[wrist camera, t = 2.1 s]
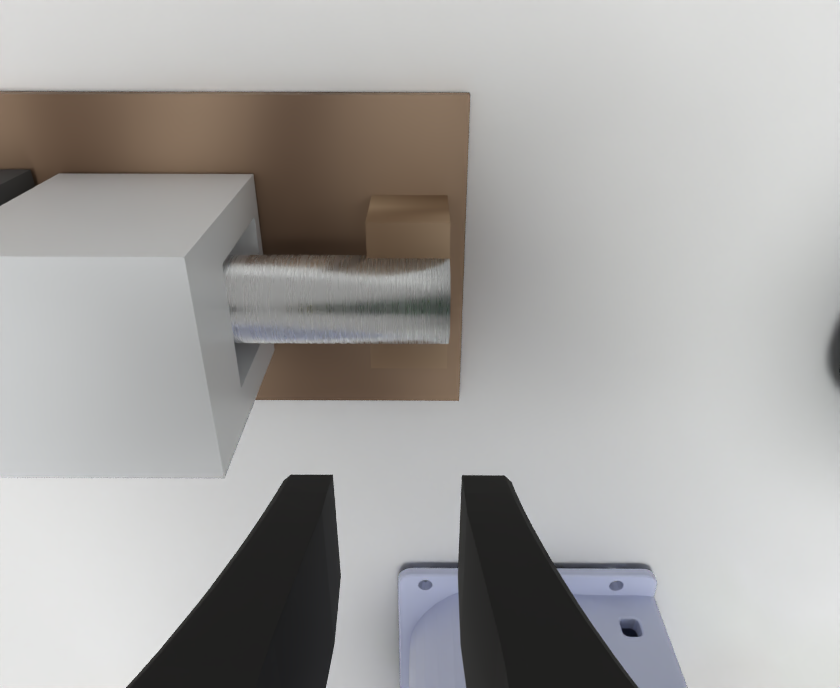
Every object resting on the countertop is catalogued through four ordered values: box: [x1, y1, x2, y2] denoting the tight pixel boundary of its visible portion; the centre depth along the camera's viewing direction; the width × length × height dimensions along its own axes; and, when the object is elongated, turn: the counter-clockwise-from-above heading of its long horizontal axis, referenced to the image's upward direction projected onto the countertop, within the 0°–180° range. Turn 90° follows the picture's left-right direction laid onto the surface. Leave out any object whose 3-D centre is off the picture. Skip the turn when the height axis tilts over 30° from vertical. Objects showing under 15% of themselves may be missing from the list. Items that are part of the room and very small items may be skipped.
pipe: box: [222, 255, 451, 344], centre depth 17 cm, size 21×2×2 cm, turn 90°
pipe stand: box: [0, 91, 470, 401], centre depth 17 cm, size 22×9×4 cm, turn 90°
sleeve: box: [0, 173, 274, 478], centre depth 16 cm, size 5×5×6 cm
